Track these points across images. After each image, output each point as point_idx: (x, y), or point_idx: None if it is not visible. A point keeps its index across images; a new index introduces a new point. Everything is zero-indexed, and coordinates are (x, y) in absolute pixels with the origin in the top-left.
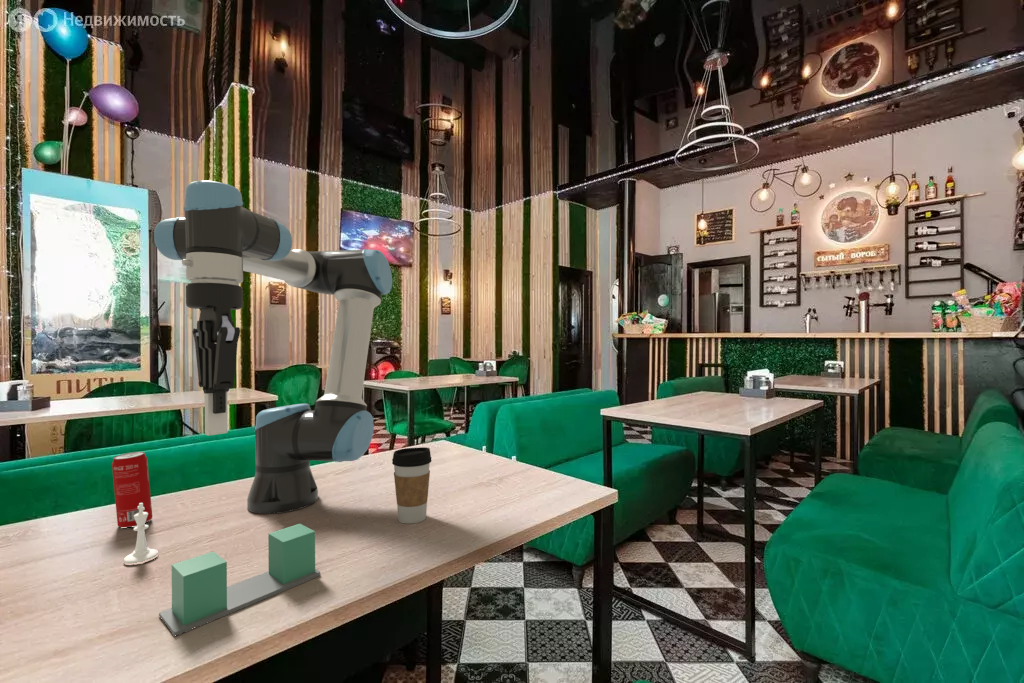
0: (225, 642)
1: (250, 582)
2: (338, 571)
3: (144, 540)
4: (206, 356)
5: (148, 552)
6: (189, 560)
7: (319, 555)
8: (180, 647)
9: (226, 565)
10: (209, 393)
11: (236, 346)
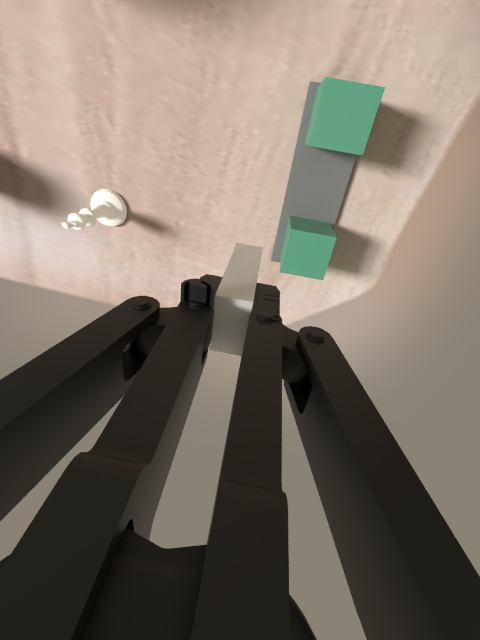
0: (374, 250)
1: (303, 174)
2: (395, 62)
3: (101, 211)
4: (167, 471)
5: (111, 204)
6: (288, 257)
7: (319, 37)
8: (340, 272)
9: (336, 236)
10: (242, 351)
11: (461, 553)
